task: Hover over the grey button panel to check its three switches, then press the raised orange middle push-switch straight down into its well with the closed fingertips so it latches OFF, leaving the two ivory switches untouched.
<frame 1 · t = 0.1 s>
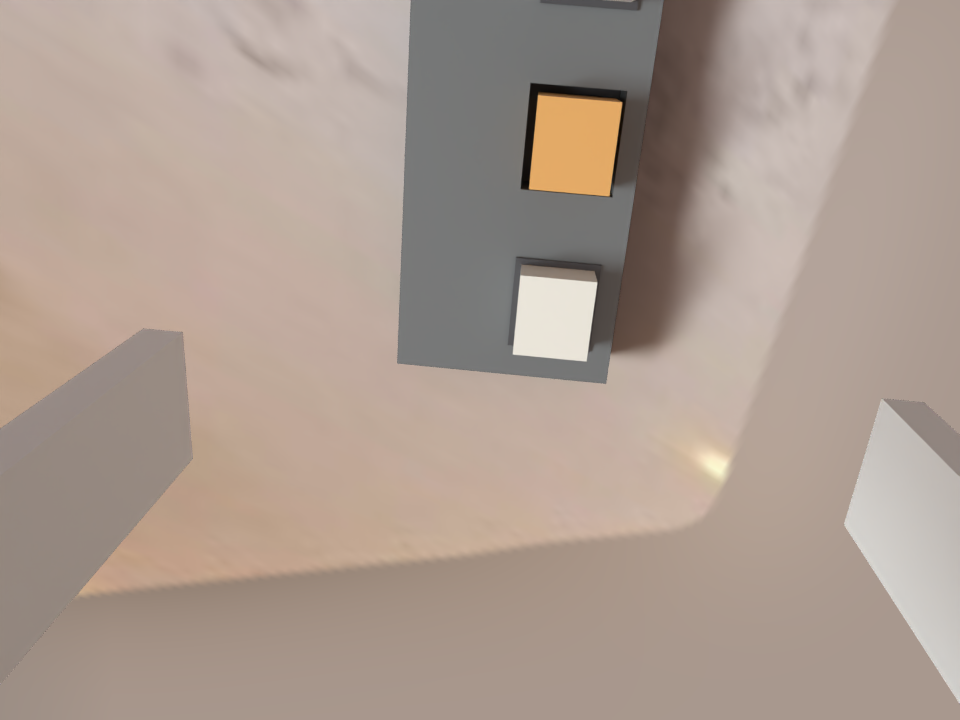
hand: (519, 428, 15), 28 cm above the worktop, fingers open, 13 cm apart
button orange: (573, 142, 35), point 5 cm above the worktop, slide at 0.0 cm
grey button panel: (514, 128, 39), on the worktop
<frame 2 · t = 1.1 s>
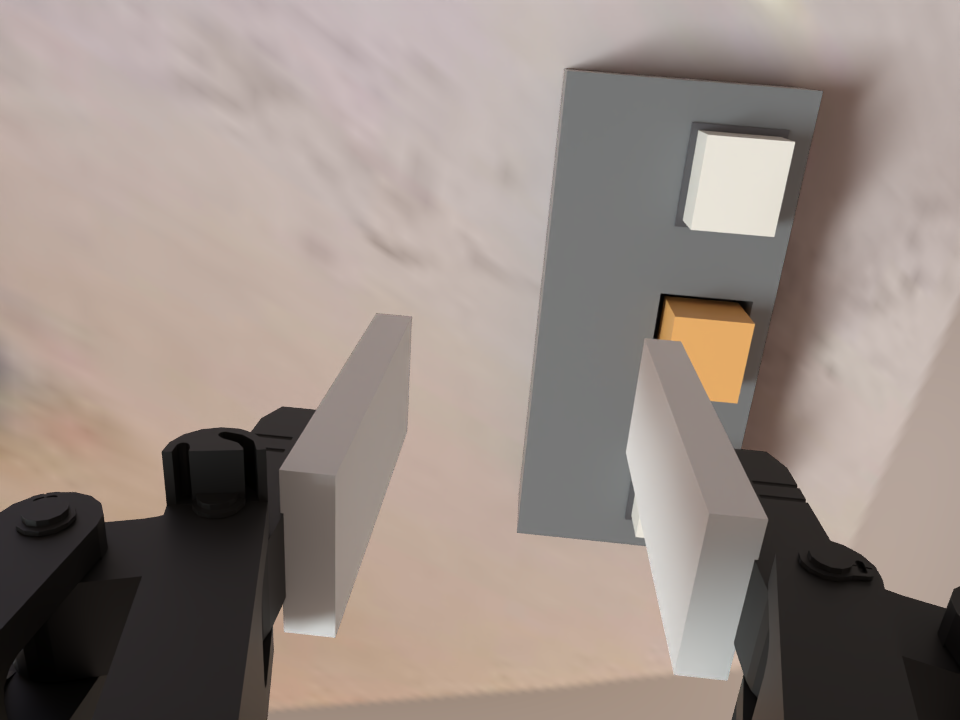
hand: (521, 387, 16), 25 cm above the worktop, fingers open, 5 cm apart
button orange: (700, 348, 37), point 5 cm above the worktop, slide at 0.0 cm
grey button panel: (631, 313, 41), on the worktop
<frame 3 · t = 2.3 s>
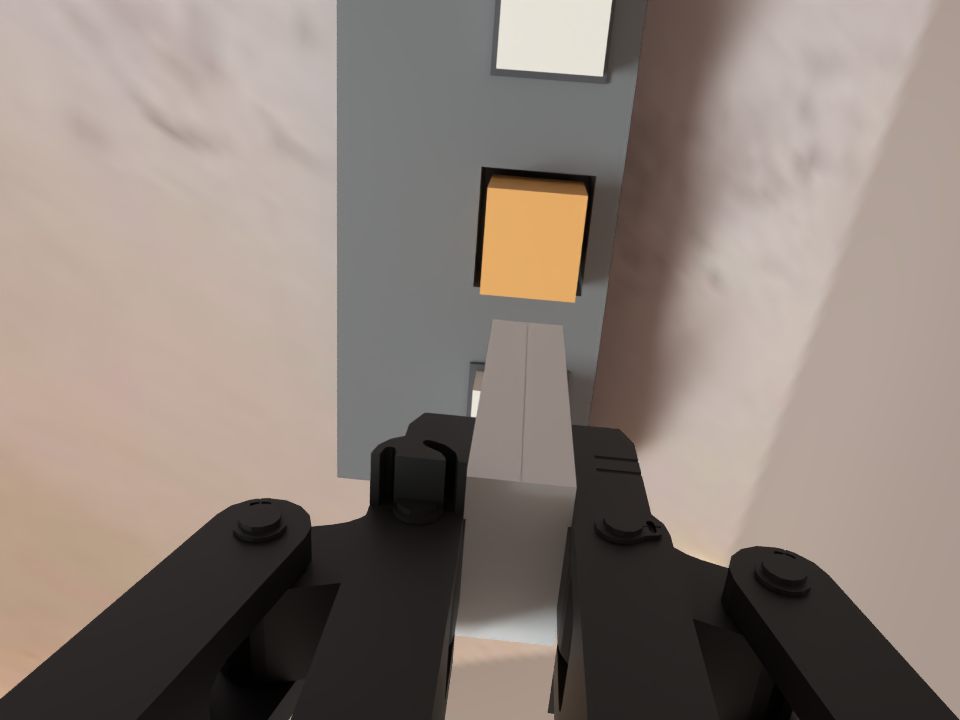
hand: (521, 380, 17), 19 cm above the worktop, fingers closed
button orange: (532, 236, 30), point 5 cm above the worktop, slide at 0.0 cm
grey button panel: (470, 207, 34), on the worktop
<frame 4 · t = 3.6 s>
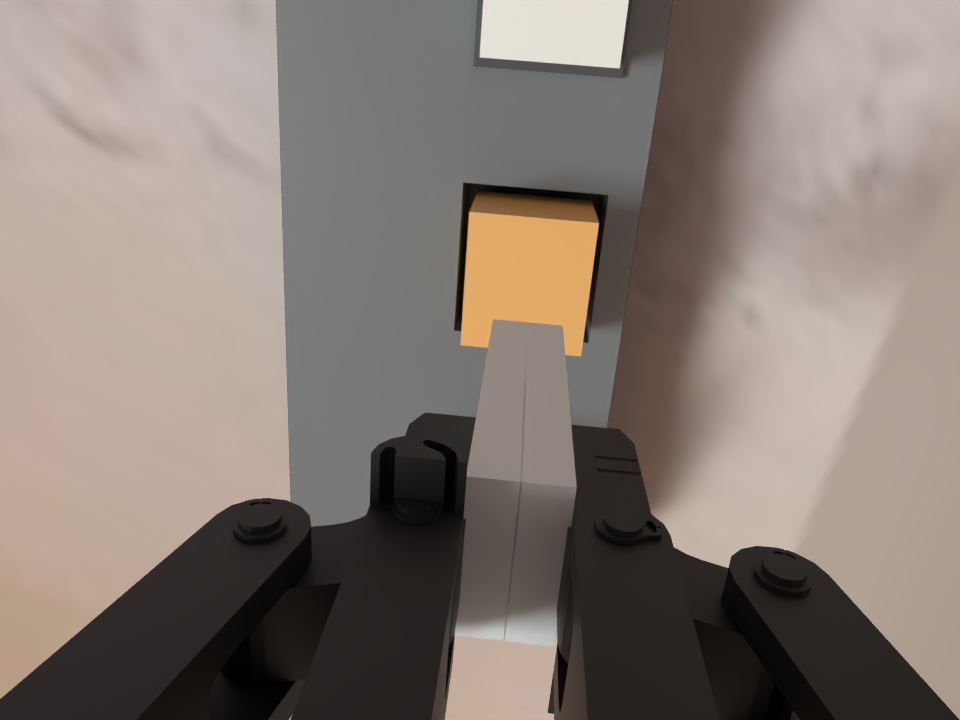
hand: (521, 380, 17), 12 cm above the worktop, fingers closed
button orange: (527, 271, 23), point 5 cm above the worktop, slide at 0.0 cm
grey button panel: (452, 228, 28), on the worktop
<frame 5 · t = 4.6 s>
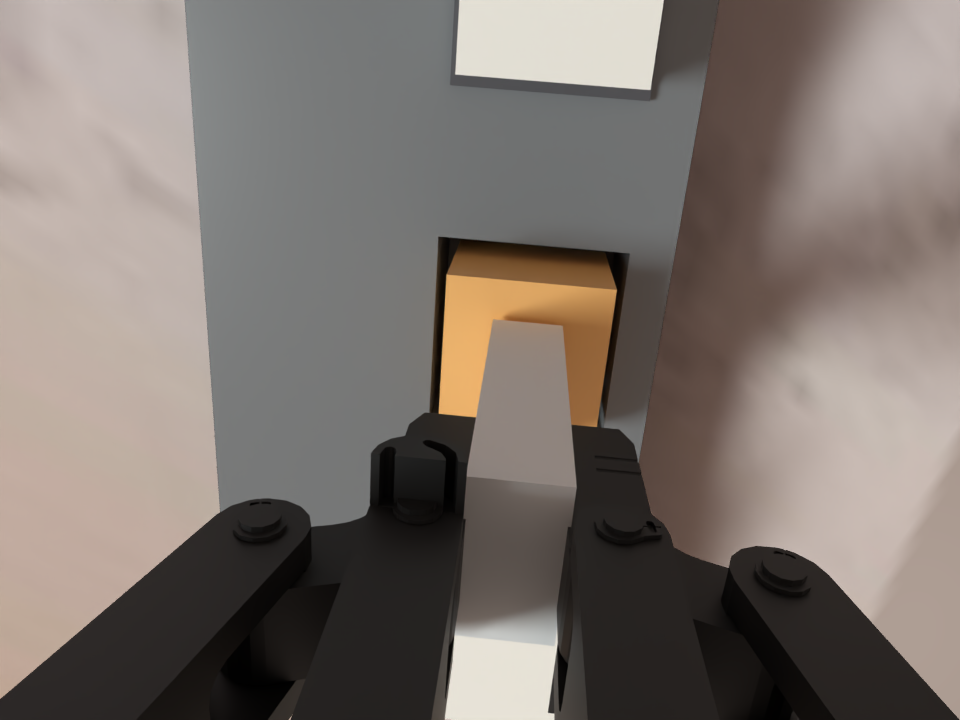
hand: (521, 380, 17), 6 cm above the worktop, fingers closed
button orange: (523, 343, 18), point 4 cm above the worktop, slide at 0.6 cm, touching gripper
grey button panel: (430, 284, 22), on the worktop
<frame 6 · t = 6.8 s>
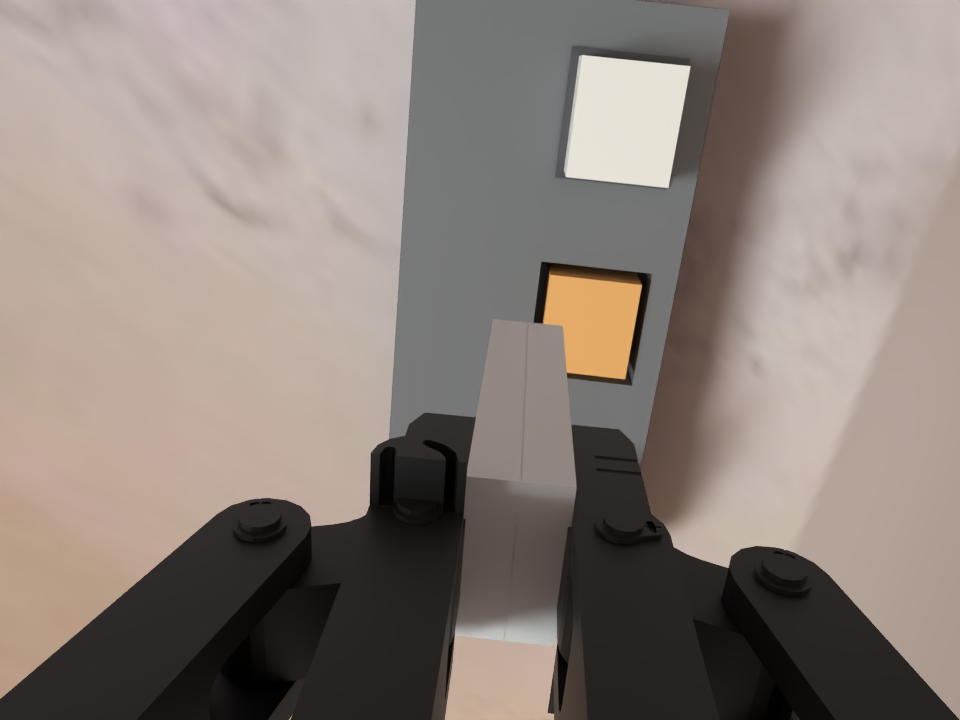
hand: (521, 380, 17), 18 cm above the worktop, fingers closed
button orange: (586, 316, 32), point 3 cm above the worktop, slide at 1.8 cm, touching grey button panel
grey button panel: (520, 291, 35), on the worktop
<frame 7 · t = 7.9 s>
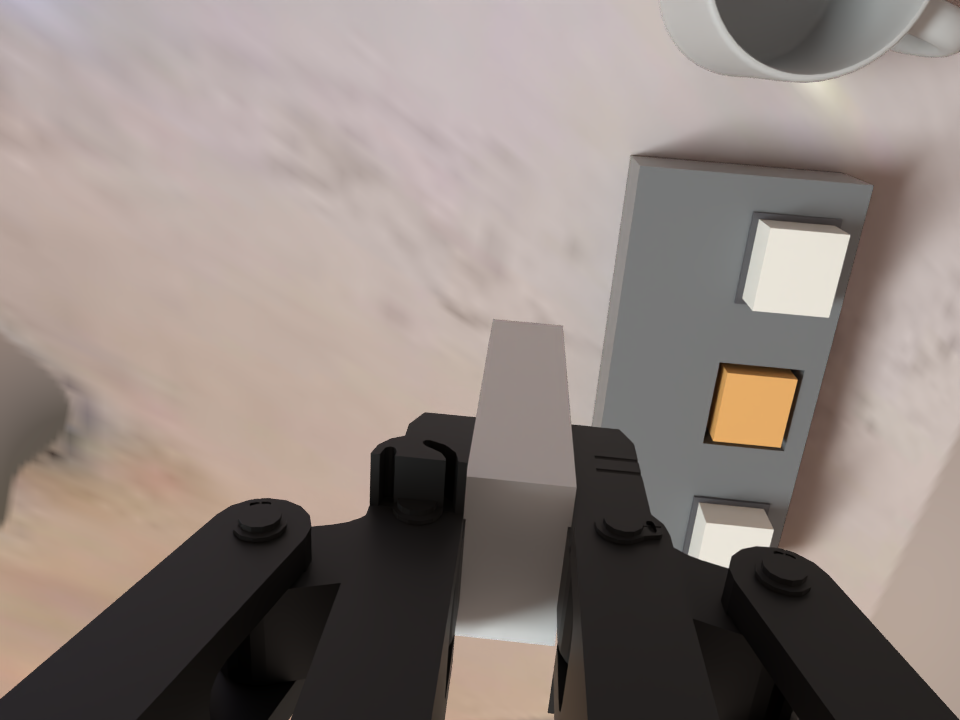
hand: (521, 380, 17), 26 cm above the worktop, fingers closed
button orange: (746, 398, 42), point 3 cm above the worktop, slide at 1.8 cm, touching grey button panel
grey button panel: (686, 373, 45), on the worktop
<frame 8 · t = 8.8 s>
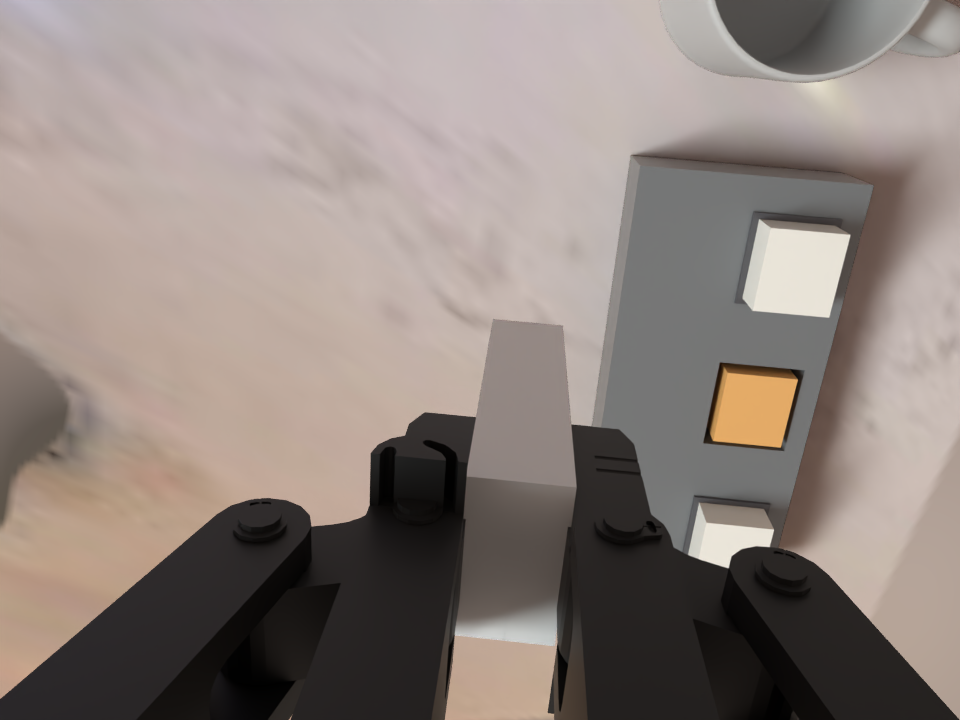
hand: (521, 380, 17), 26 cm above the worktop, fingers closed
button orange: (747, 398, 42), point 3 cm above the worktop, slide at 1.8 cm, touching grey button panel
grey button panel: (686, 373, 45), on the worktop
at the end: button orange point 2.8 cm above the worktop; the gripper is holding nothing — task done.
